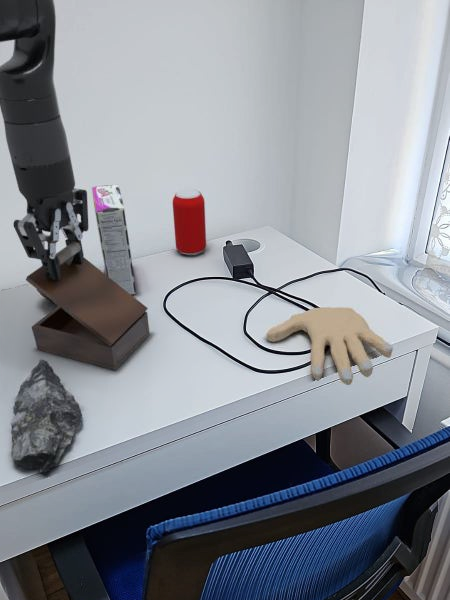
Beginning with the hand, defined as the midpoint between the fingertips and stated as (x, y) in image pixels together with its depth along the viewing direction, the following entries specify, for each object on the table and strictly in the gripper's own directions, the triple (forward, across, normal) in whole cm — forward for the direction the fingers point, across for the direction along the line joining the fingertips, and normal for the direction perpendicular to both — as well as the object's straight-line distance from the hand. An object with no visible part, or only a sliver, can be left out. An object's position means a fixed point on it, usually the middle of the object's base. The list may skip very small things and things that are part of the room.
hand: (66, 271), depth 87 cm
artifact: (+12, -8, -10) cm, 18 cm away
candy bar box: (+12, -19, -4) cm, 23 cm away
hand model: (+13, -22, +35) cm, 43 cm away
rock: (+15, +19, +10) cm, 26 cm away
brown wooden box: (+12, 0, +3) cm, 12 cm away
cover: (+4, 0, +3) cm, 5 cm away
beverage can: (+12, -36, +3) cm, 38 cm away
